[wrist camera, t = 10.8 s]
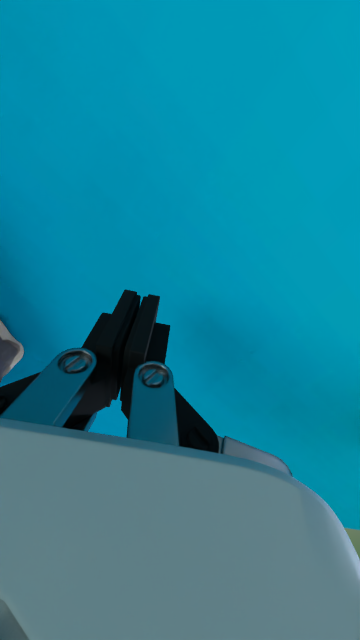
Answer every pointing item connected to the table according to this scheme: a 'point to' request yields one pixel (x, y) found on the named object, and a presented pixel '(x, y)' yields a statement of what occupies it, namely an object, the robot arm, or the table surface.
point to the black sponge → (8, 351)
